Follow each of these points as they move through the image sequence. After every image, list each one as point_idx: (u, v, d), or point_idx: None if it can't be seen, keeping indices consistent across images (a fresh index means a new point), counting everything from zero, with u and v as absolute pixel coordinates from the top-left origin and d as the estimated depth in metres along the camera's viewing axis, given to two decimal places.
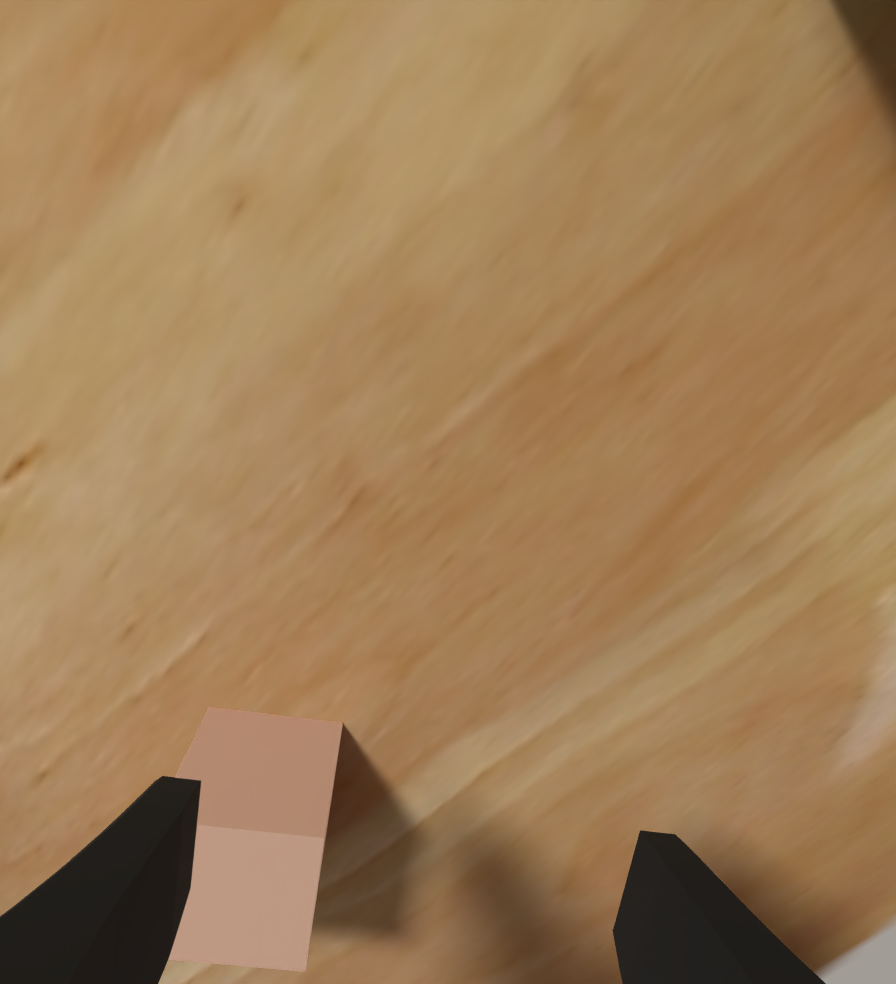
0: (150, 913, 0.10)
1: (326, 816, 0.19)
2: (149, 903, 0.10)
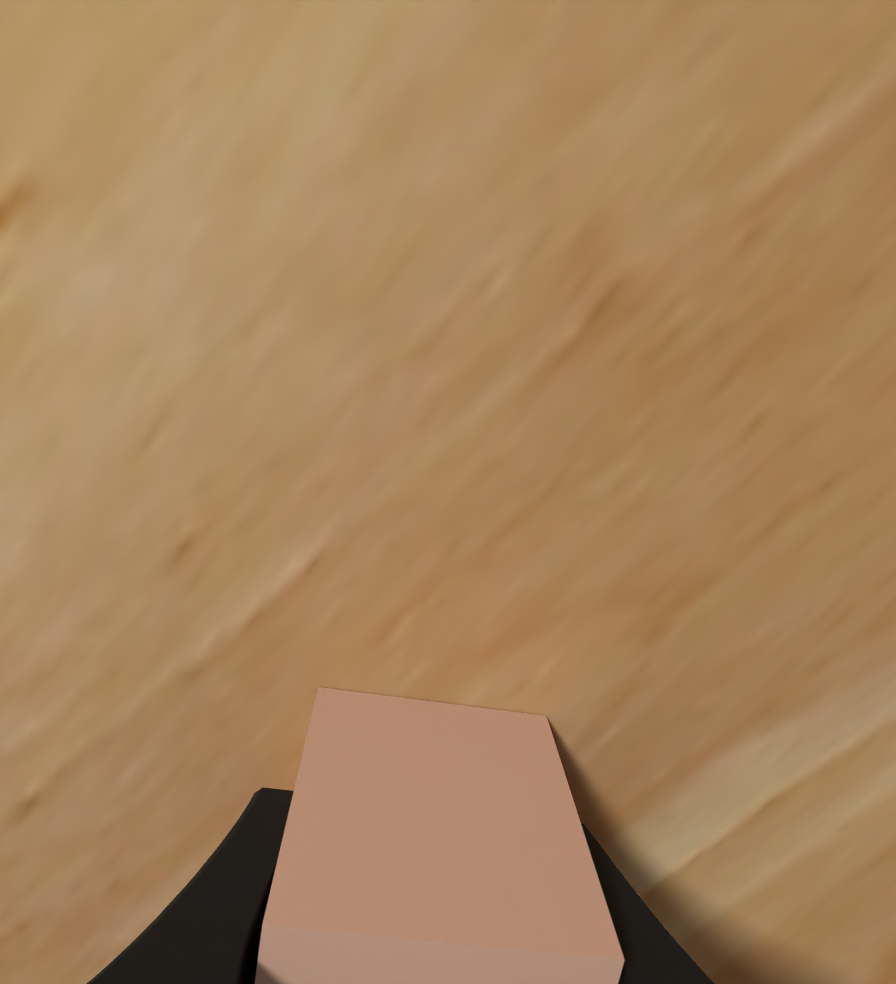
0: None
1: (604, 906, 0.09)
2: None
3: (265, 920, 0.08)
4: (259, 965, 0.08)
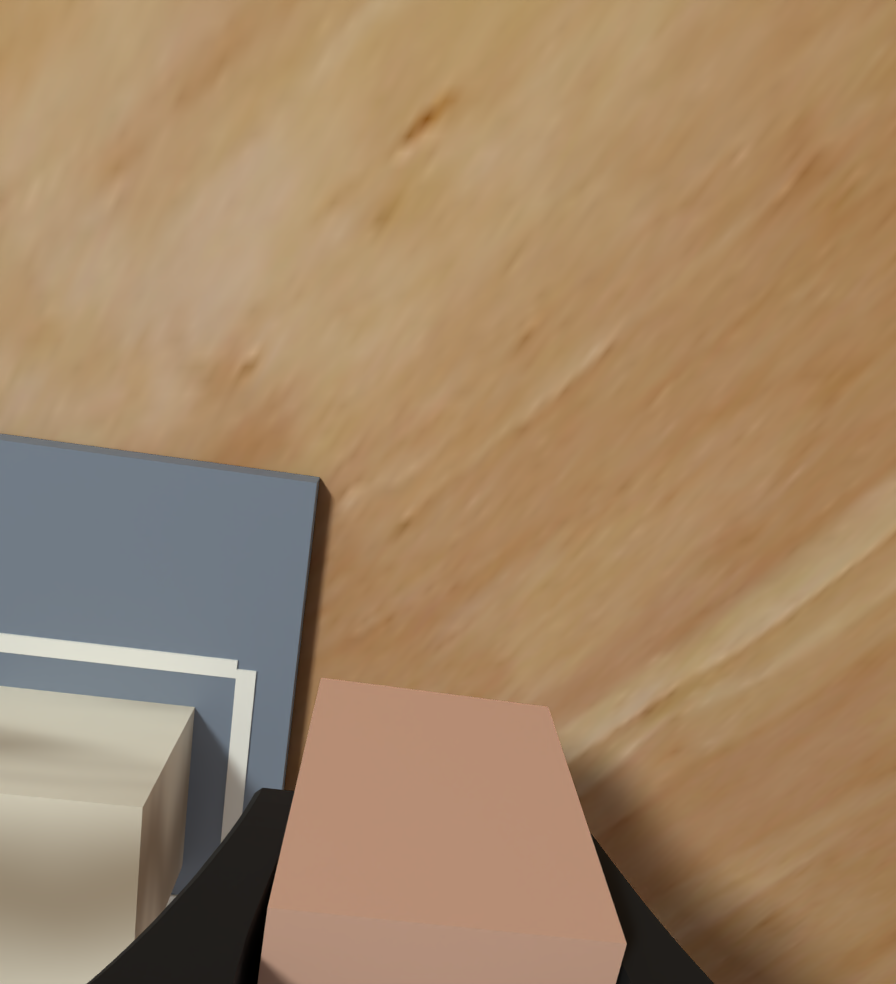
0: None
1: (606, 891, 0.09)
2: None
3: (270, 903, 0.08)
4: (264, 948, 0.08)
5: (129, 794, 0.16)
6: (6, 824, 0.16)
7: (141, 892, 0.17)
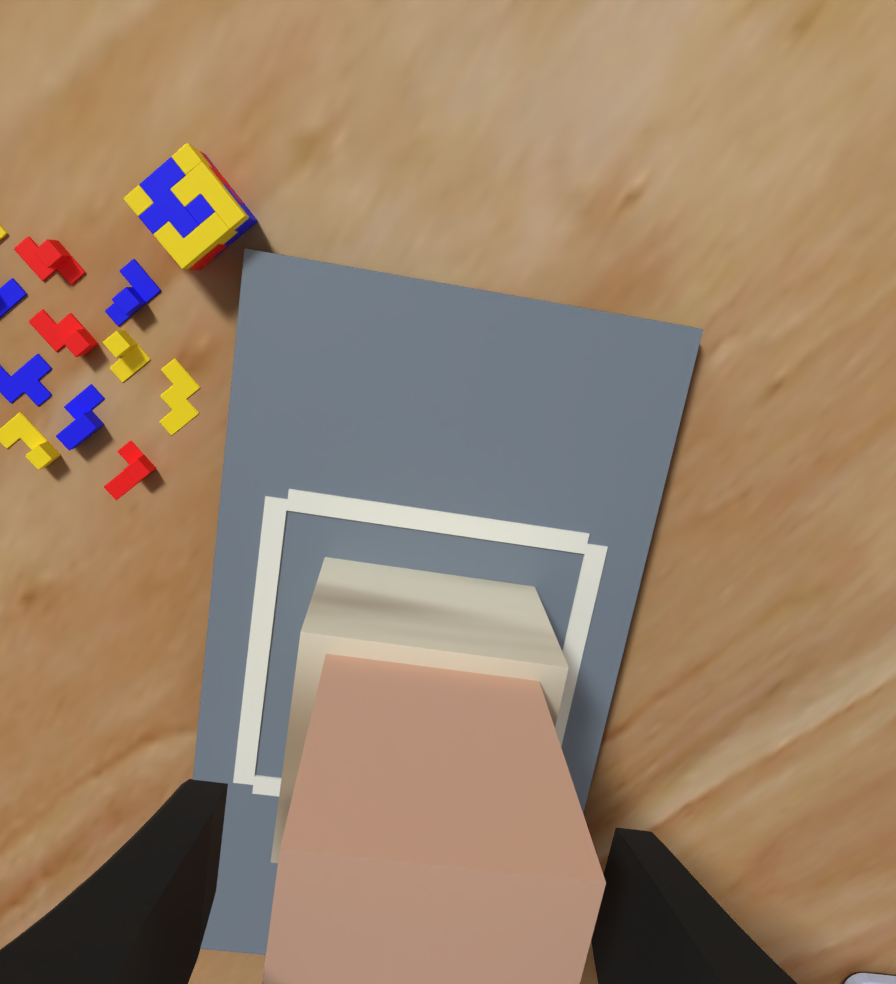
0: (181, 916, 0.10)
1: (588, 839, 0.10)
2: (181, 906, 0.10)
3: (282, 845, 0.09)
4: (277, 886, 0.09)
5: (544, 655, 0.14)
6: None
7: None
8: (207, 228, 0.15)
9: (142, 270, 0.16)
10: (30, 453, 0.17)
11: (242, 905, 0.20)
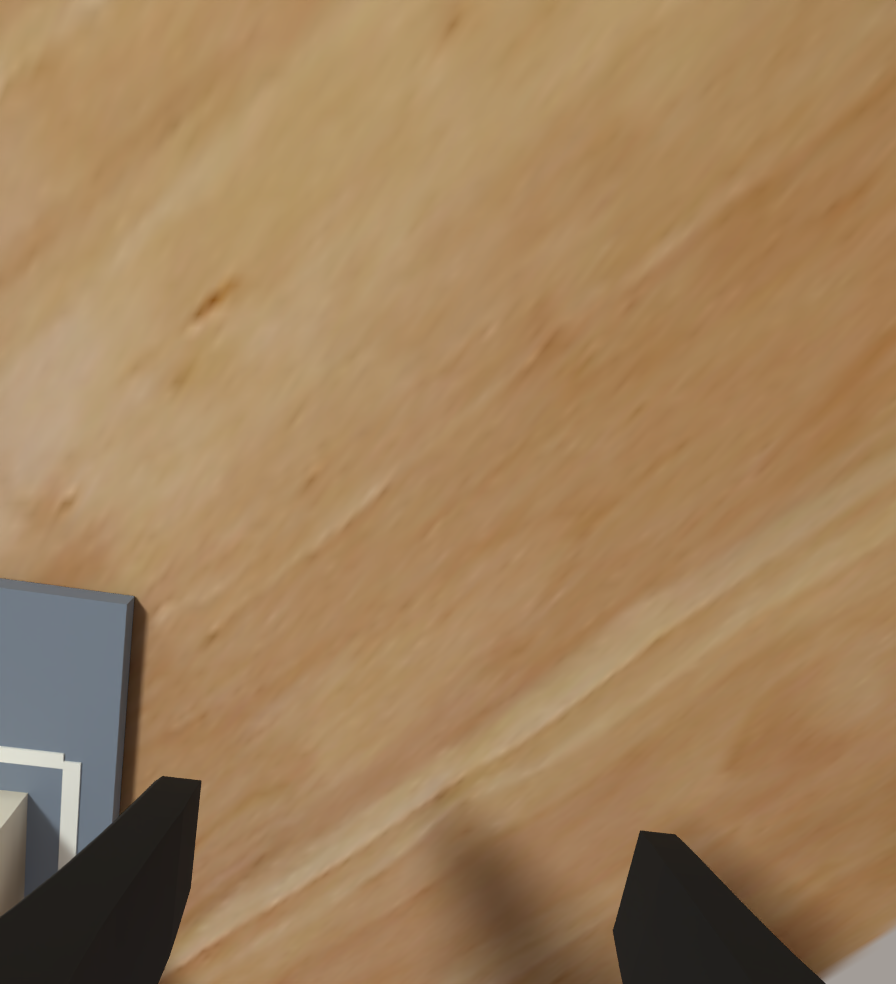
0: (150, 913, 0.10)
1: None
2: (149, 903, 0.10)
3: None
4: None
5: None
6: None
7: None
8: None
9: None
10: None
11: None
